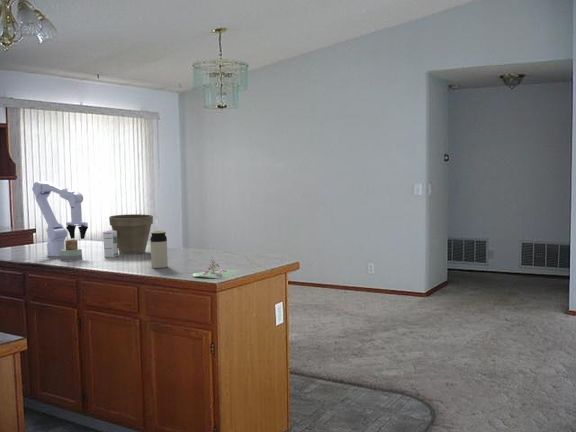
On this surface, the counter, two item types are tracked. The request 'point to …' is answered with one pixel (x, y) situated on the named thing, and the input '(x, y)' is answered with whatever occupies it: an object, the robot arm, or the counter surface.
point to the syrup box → (110, 243)
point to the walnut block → (71, 244)
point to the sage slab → (70, 252)
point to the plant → (215, 272)
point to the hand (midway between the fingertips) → (77, 238)
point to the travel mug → (159, 249)
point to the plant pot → (131, 232)
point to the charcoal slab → (71, 257)
